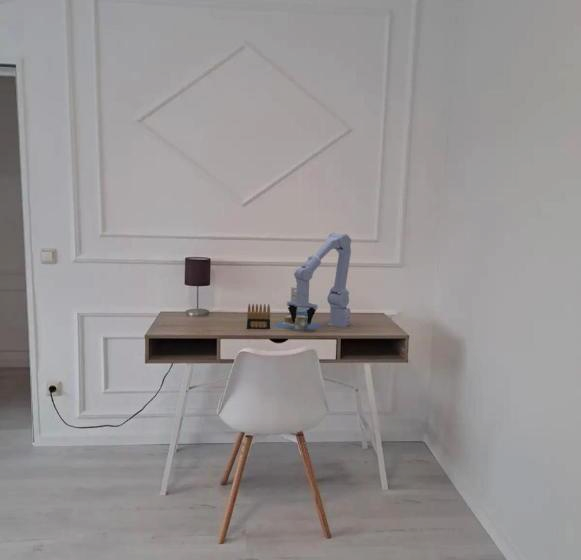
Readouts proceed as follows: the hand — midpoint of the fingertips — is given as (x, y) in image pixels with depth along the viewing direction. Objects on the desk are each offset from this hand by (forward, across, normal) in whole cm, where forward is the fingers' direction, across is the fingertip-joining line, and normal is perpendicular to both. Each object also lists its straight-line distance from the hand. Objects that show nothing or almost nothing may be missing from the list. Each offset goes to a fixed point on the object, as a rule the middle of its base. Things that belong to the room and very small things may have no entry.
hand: (301, 323), depth 238 cm
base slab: (+3, -8, +10) cm, 13 cm away
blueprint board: (+3, -5, +6) cm, 8 cm away
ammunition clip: (+4, -17, -10) cm, 20 cm away
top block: (+3, 0, 0) cm, 3 cm away
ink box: (+3, -15, +28) cm, 32 cm away
